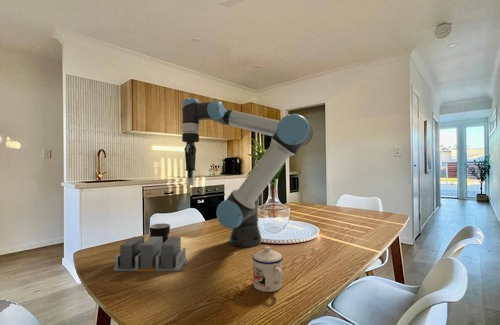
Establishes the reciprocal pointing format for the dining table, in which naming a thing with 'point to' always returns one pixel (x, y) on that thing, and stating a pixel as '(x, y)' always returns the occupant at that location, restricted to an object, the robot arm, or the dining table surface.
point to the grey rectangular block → (150, 251)
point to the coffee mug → (160, 231)
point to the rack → (165, 260)
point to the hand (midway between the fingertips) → (190, 185)
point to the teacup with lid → (267, 270)
